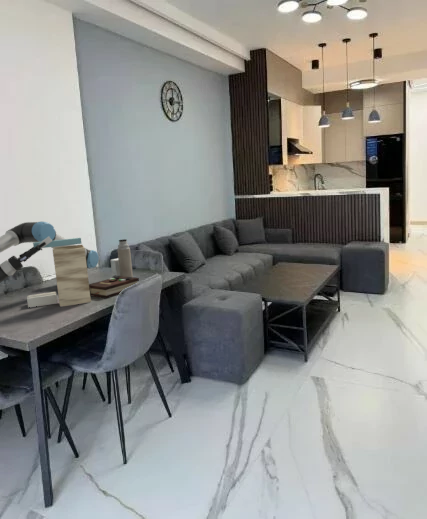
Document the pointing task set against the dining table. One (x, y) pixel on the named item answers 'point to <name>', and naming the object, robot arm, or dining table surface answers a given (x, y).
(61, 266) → the pedestal
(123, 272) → the thermos bottle
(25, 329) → the dining table surface
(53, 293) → the dock
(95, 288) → the decorative book
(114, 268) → the skincare box
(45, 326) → the dining table surface
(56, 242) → the bar
